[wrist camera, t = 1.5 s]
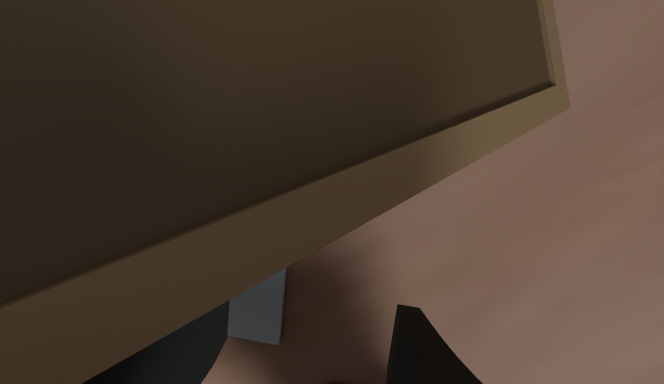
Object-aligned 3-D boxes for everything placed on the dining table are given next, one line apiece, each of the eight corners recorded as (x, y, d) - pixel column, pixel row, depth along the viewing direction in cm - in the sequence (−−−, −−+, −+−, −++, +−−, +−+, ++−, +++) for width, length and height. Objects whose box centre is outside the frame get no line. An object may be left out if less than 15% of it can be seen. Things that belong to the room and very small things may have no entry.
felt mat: (280, 341, 23) (278, 345, 22) (40, 297, 24) (35, 299, 24) (301, 103, 20) (299, 102, 19) (23, 71, 21) (18, 71, 21)
